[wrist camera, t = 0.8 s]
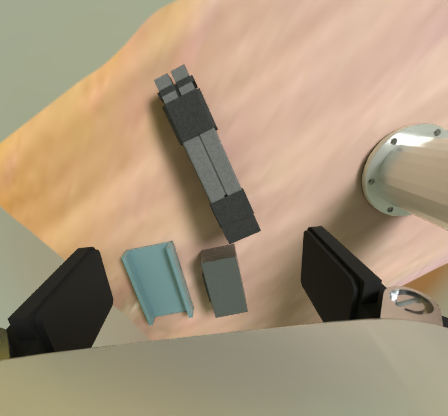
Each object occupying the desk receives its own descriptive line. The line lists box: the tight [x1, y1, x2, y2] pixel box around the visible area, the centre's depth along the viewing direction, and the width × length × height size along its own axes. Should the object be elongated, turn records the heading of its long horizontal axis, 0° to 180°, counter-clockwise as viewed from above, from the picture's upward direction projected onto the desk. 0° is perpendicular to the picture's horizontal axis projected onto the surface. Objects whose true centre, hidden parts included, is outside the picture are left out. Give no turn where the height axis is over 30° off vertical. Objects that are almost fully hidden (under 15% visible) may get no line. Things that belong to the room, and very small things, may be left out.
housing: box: [201, 244, 248, 318], centre depth 36 cm, size 5×10×4 cm, turn 11°
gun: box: [154, 65, 261, 244], centre depth 30 cm, size 4×20×10 cm, turn 25°
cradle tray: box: [121, 241, 194, 325], centre depth 36 cm, size 7×13×2 cm, turn 11°
